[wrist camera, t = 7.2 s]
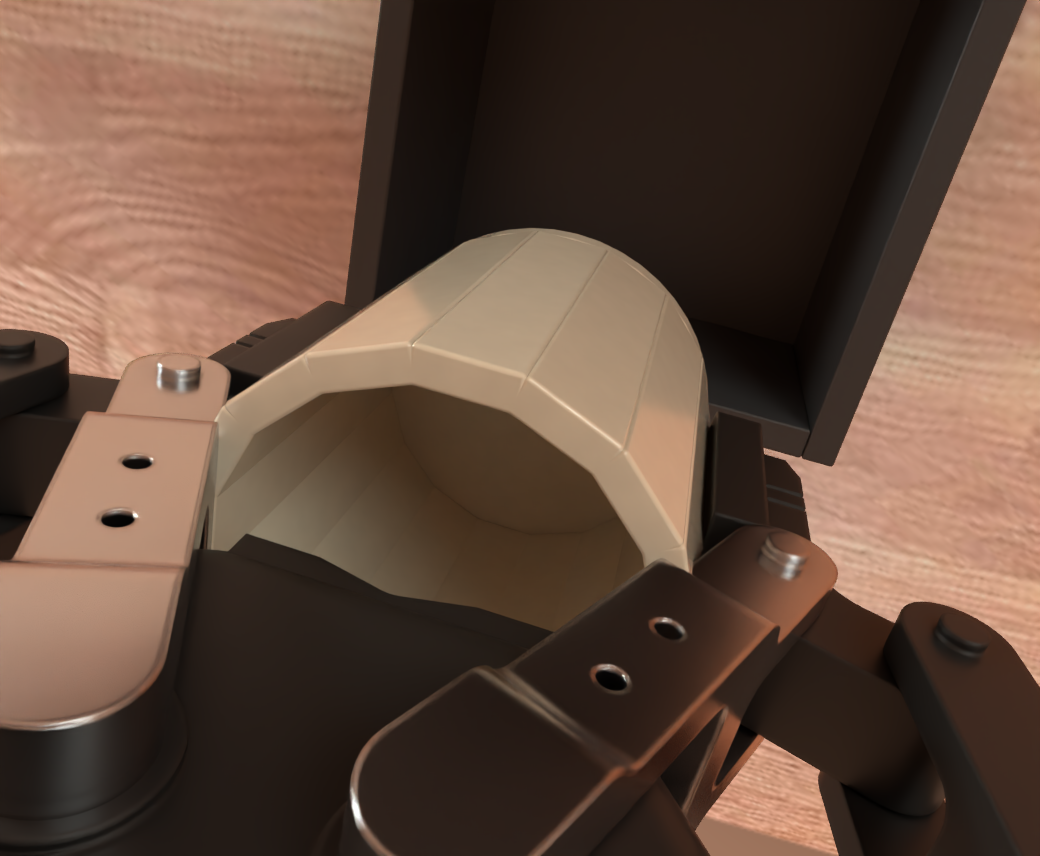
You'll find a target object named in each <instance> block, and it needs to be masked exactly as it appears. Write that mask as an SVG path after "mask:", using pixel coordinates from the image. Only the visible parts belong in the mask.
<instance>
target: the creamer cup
mask: <svg viewBox="0 0 1040 856" xmlns="http://www.w3.org/2000/svg"><path fill="white" fill-rule="evenodd" d="M214 422H218V423H219V446H218V462H217V478H216V489H215V500H214V513H213V529H212V545H211V550H221V551H229V550H230V549H231V548H232V547H233V546H234V545H235V544H236V543H237V542H238V541H239V540H240V539H241V538H242V537H243V536H244V535H245V534H246V533H247V534H250V535H253V536H256V537H259V538H262V539H265V540H269V541H272V542H275V543H278V544H281V545H284V546H287V547H290V548H294V549H297V550H300V551H303V552H306V553H309V554H312V555H315V556H319V557H321V558H323V559H325V560H327V561H328V562H330V563H332V564H334V565H336V566H338V567H340V568H341V569H343V570H345V571H347V572H349V573H351V574H353V575H354V576H356V577H358V578H360V579H362V580H364V581H366V582H367V583H369V584H371V585H373V586H375V587H377V588H379V589H380V590H382V591H384V592H387V593H389V594H392V595H397V596H403V597H410V598H417V599H424V600H430V601H437V602H444V603H451V604H458V605H464V606H471V607H478V608H481V609H484V610H487V611H490V612H493V613H496V614H500V615H503V616H506V617H509V618H512V619H515V620H518V621H521V622H525V623H528V624H531V625H534V626H537V627H540V628H543V629H546V630H550V631H553V632H555V631H556V630H557V629H559V628H560V627H562V626H563V625H564V624H566V623H567V622H569V621H570V620H572V619H573V618H574V617H576V616H577V615H579V614H580V613H581V612H583V611H584V610H586V609H587V608H588V607H590V606H591V605H593V604H594V603H596V602H597V601H598V600H600V599H601V598H603V597H604V596H605V595H607V594H608V593H610V592H611V591H612V590H614V589H615V588H617V587H618V586H620V585H621V584H622V583H624V582H625V581H627V580H628V579H629V578H631V577H632V576H634V575H635V574H636V573H638V572H639V571H641V570H642V569H644V568H645V567H646V566H648V565H649V564H651V563H652V562H653V561H655V560H657V559H659V558H665V559H666V560H668V561H670V562H672V563H673V564H675V565H677V566H678V567H680V568H682V569H684V570H685V571H687V572H689V573H690V574H692V568H693V562H695V561H696V560H697V559H698V558H700V557H701V556H702V551H703V532H704V515H705V498H706V481H707V464H708V447H709V430H710V416H709V406H708V380H707V374H706V368H705V363H704V358H703V355H702V352H701V349H700V346H699V343H698V340H697V337H696V335H695V333H694V331H693V329H692V327H691V325H690V323H689V320H688V318H687V317H686V315H685V314H684V312H683V311H682V309H681V308H680V306H679V305H678V303H677V302H676V300H675V299H674V297H673V296H672V295H671V294H670V293H669V292H668V291H667V289H666V288H665V287H664V286H663V285H662V284H661V283H660V281H659V280H657V279H656V278H655V277H654V276H653V275H652V274H651V273H649V272H648V271H647V270H646V269H645V268H644V267H643V266H641V265H640V264H639V263H637V262H636V261H634V260H633V259H631V258H630V257H628V256H627V255H625V254H624V253H622V252H620V251H618V250H616V249H614V248H612V247H610V246H608V245H606V244H604V243H602V242H600V241H597V240H594V239H591V238H588V237H585V236H582V235H579V234H575V233H570V232H565V231H560V230H555V229H540V228H524V229H511V230H505V231H500V232H496V233H491V234H487V235H484V236H481V237H478V238H476V239H472V240H469V241H467V242H463V243H462V244H460V245H458V246H457V247H455V248H454V249H452V250H450V251H449V252H447V253H445V254H444V255H442V256H441V257H440V258H438V259H436V260H435V261H433V262H432V263H430V264H429V265H427V266H425V267H424V268H422V269H421V270H419V271H418V272H416V273H414V274H413V275H411V276H410V277H409V278H407V279H406V280H404V281H403V282H401V283H400V284H398V285H397V286H395V287H394V288H392V289H391V290H389V291H388V292H387V293H385V294H384V295H382V296H381V297H379V298H378V299H376V300H375V301H373V302H372V303H370V304H369V305H367V306H366V307H365V308H363V309H362V310H360V311H359V312H357V313H356V314H354V315H353V316H351V317H350V318H348V319H347V320H345V321H344V322H343V323H341V324H340V325H338V326H337V327H335V328H334V329H332V330H331V331H329V332H328V333H326V334H325V335H323V336H322V337H321V338H319V339H318V340H316V341H315V342H313V343H312V344H310V345H309V346H307V347H306V348H304V349H303V350H301V351H300V352H299V353H297V354H296V355H294V356H293V357H291V358H290V359H288V360H287V361H285V362H284V363H282V364H281V365H279V366H278V367H277V368H275V369H274V370H272V371H271V372H269V373H268V374H266V375H265V376H263V377H262V378H260V379H259V380H257V381H256V382H255V383H253V384H252V385H250V386H249V387H247V388H246V389H244V390H243V391H241V392H240V393H238V394H237V395H235V396H234V397H233V398H231V399H230V400H228V401H227V402H226V404H225V405H224V406H222V407H221V409H220V411H219V412H218V414H217V416H216V418H215V419H214Z"/></svg>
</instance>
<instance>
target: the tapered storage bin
mask: <svg viewBox="0 0 1040 856" xmlns="http://www.w3.org/2000/svg"><path fill="white" fill-rule="evenodd" d="M1026 1H1027V0H381V5H380V14H379V22H378V30H377V39H376V47H375V55H374V64H373V72H372V80H371V89H370V97H369V105H368V114H367V122H366V130H365V139H364V147H363V155H362V164H361V172H360V180H359V189H358V197H357V205H356V214H355V222H354V230H353V239H352V247H351V255H350V264H349V272H348V280H347V289H346V297H345V305H347V306H350V307H354V308H357V309H361V310H362V309H363V308H365V307H366V306H367V305H369V304H370V303H372V302H373V301H375V300H376V299H378V298H379V297H381V296H382V295H384V294H385V293H387V292H388V291H389V290H391V289H392V288H394V287H395V286H397V285H398V284H400V283H401V282H403V281H404V280H406V279H407V278H409V277H410V276H411V275H413V274H414V273H416V272H418V271H419V270H421V269H422V268H424V267H425V266H427V265H429V264H430V263H432V262H433V261H435V260H436V259H438V258H440V257H441V256H442V255H444V254H445V253H447V252H449V251H450V250H452V249H454V248H455V247H457V246H458V245H460V244H462V243H463V242H467V241H469V240H472V239H476V238H478V237H481V236H484V235H487V234H491V233H496V232H500V231H505V230H511V229H524V228H540V229H555V230H560V231H565V232H570V233H575V234H579V235H582V236H585V237H588V238H591V239H594V240H597V241H600V242H602V243H604V244H606V245H608V246H610V247H612V248H614V249H616V250H618V251H620V252H622V253H624V254H625V255H627V256H628V257H630V258H631V259H633V260H634V261H636V262H637V263H639V264H640V265H641V266H643V267H644V268H645V269H646V270H647V271H648V272H649V273H651V274H652V275H653V276H654V277H655V278H656V279H657V280H659V281H660V283H661V284H662V285H663V286H664V287H665V288H666V289H667V291H668V292H669V293H670V294H671V295H672V296H673V297H674V299H675V300H676V302H677V303H678V305H679V306H680V308H681V309H682V311H683V312H684V314H685V315H686V317H687V318H688V320H689V323H690V325H691V327H692V329H693V331H694V333H695V335H696V337H697V340H698V343H699V346H700V349H701V352H702V355H703V358H704V363H705V368H706V374H707V380H708V406H709V416H710V425H711V423H712V420H713V418H714V416H715V414H716V412H717V411H719V412H722V413H726V414H729V415H733V416H736V417H740V418H743V419H747V420H750V421H754V422H757V423H761V426H762V438H763V447H764V448H767V449H771V450H774V451H778V452H781V453H785V454H788V455H792V456H795V457H800V456H802V458H803V459H806V460H809V461H813V462H816V463H820V464H823V465H827V466H833V465H834V462H835V460H836V457H837V455H838V453H839V450H840V448H841V445H842V443H843V441H844V438H845V436H846V433H847V431H848V429H849V426H850V424H851V421H852V419H853V417H854V414H855V412H856V409H857V407H858V404H859V402H860V400H861V397H862V395H863V392H864V390H865V388H866V385H867V383H868V380H869V378H870V376H871V373H872V371H873V368H874V366H875V364H876V361H877V359H878V356H879V354H880V352H881V349H882V347H883V344H884V342H885V340H886V337H887V335H888V332H889V330H890V328H891V325H892V323H893V320H894V318H895V316H896V313H897V311H898V308H899V306H900V304H901V301H902V299H903V296H904V294H905V292H906V289H907V287H908V284H909V282H910V280H911V277H912V275H913V272H914V270H915V268H916V265H917V263H918V260H919V258H920V256H921V253H922V251H923V248H924V246H925V244H926V241H927V239H928V236H929V234H930V232H931V229H932V227H933V224H934V222H935V220H936V217H937V215H938V212H939V210H940V208H941V205H942V203H943V200H944V198H945V196H946V193H947V191H948V188H949V186H950V183H951V181H952V179H953V176H954V174H955V171H956V169H957V167H958V164H959V162H960V159H961V157H962V155H963V152H964V150H965V147H966V145H967V143H968V140H969V138H970V135H971V133H972V131H973V128H974V126H975V123H976V121H977V119H978V116H979V114H980V111H981V109H982V107H983V104H984V102H985V99H986V97H987V95H988V92H989V90H990V87H991V85H992V83H993V80H994V78H995V75H996V73H997V71H998V68H999V66H1000V63H1001V61H1002V59H1003V56H1004V54H1005V51H1006V49H1007V47H1008V44H1009V42H1010V39H1011V37H1012V35H1013V32H1014V30H1015V27H1016V25H1017V23H1018V20H1019V18H1020V15H1021V13H1022V11H1023V8H1024V6H1025V3H1026Z"/></svg>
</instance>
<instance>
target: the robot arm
mask: <svg viewBox="0 0 1040 856" xmlns="http://www.w3.org/2000/svg"><path fill="white" fill-rule="evenodd" d="M360 310H361V309H357V308H354V307H350V306H347V305H343V304H339V303H336V302H332V301H327V302H325V303H323V304H321V305H320V306H318V307H317V308H315V309H313V310H312V311H310V312H308V313H307V314H305V315H303V316H302V317H300V318H298V319H294V318H291V319H286V320H281V321H276V322H271V323H267V324H265V325H263V326H261V327H260V328H258V329H256V330H254V331H253V332H251V333H250V335H246V336H244V337H242V338H241V339H239V340H237V341H236V344H235V343H232V344H230V345H228V346H227V347H225V348H223V349H221V350H220V351H218V352H216V353H214V354H213V355H211V356H209V357H208V358H205V357H201V356H197V355H191V354H182V353H161V354H153V355H148V356H143V357H141V358H138V359H136V360H134V361H132V362H130V363H129V364H128V365H127V367H126V368H125V370H124V372H123V375H122V377H121V379H120V380H116V379H108V378H100V377H93V376H85V375H78V374H70V373H69V349H68V346H67V345H66V344H65V343H64V342H63V341H61V340H60V339H58V338H56V337H53V336H50V335H47V334H44V333H40V332H34V331H27V330H16V329H3V330H0V856H710V854H709V853H708V851H707V850H706V848H705V847H704V845H703V843H702V842H701V840H700V839H699V837H698V835H697V834H696V832H695V830H696V828H697V827H698V825H699V823H700V822H701V820H702V819H703V817H704V816H705V815H706V813H707V812H708V811H709V809H710V808H711V807H712V805H713V804H714V803H715V802H716V800H717V799H718V798H719V796H720V795H721V794H722V793H723V791H724V790H725V789H726V787H727V786H728V785H729V784H730V782H731V781H732V780H733V778H734V777H735V776H736V775H737V773H738V772H739V771H740V769H741V768H742V767H743V766H744V764H745V763H746V762H747V760H748V759H749V758H750V757H751V755H752V754H753V753H754V751H755V750H756V749H757V748H758V746H759V745H760V744H761V742H762V741H763V739H764V738H765V739H767V740H769V741H771V742H772V743H774V744H776V745H777V746H779V747H781V748H783V749H784V750H786V751H788V752H789V753H791V754H793V755H795V756H796V757H798V758H800V759H802V760H803V761H805V762H807V763H808V764H810V765H812V766H814V767H815V768H817V769H819V770H820V773H819V776H818V784H819V789H820V793H821V796H822V799H823V803H824V806H825V810H826V813H827V817H828V820H829V823H830V827H831V830H832V834H833V837H834V840H835V844H836V847H837V851H838V854H839V856H1040V687H1039V686H1038V684H1037V683H1036V681H1035V680H1034V678H1033V677H1032V675H1031V674H1030V672H1029V671H1028V669H1027V668H1026V666H1025V665H1024V663H1023V662H1022V660H1021V659H1020V657H1019V656H1018V654H1017V653H1016V651H1015V650H1014V649H1013V647H1012V646H1011V645H1010V644H1009V643H1008V642H1007V641H1006V640H1005V639H1004V638H1003V637H1002V636H1001V635H999V634H998V633H997V632H996V631H995V630H993V629H992V628H990V627H989V626H988V625H986V624H984V623H983V622H981V621H979V620H978V619H976V618H974V617H972V616H970V615H968V614H966V613H964V612H962V611H959V610H957V609H954V608H951V607H948V606H945V605H941V604H937V603H931V602H914V603H910V604H908V605H906V606H905V607H904V608H903V609H902V610H901V612H900V614H899V616H898V618H897V620H896V622H895V623H893V622H891V621H889V620H887V619H885V618H883V617H880V616H878V615H876V614H874V613H872V612H870V611H868V610H866V609H864V608H862V607H860V606H859V605H857V604H855V603H853V602H852V601H850V600H848V599H847V598H845V597H844V596H843V595H841V594H840V593H838V592H837V591H836V590H835V589H834V588H833V586H834V584H835V582H836V580H837V577H838V571H837V568H836V565H835V563H834V562H833V561H832V559H831V558H830V557H829V556H828V555H827V554H826V553H825V552H824V551H823V550H822V549H821V548H819V547H818V546H817V545H815V544H814V543H812V542H811V539H810V533H809V527H808V521H807V515H806V512H805V503H804V498H802V497H803V491H802V484H801V479H800V477H799V476H798V475H797V474H796V473H795V471H794V470H793V469H792V468H791V467H790V465H789V464H788V463H787V462H786V461H785V460H782V459H778V458H775V457H771V456H768V455H765V454H764V450H763V438H762V426H761V423H757V422H754V421H750V420H747V419H743V418H740V417H736V416H733V415H729V414H726V413H722V412H719V411H717V412H716V414H715V416H714V418H713V420H712V423H711V425H710V430H709V447H708V464H707V481H706V498H705V515H704V532H703V551H702V556H701V557H700V558H698V559H697V560H696V561H695V562H693V568H692V574H690V573H689V572H687V571H685V570H684V569H682V568H680V567H678V566H677V565H675V564H673V563H672V562H670V561H668V560H666V559H665V558H659V559H657V560H655V561H653V562H652V563H651V564H649V565H648V566H646V567H645V568H644V569H642V570H641V571H639V572H638V573H636V574H635V575H634V576H632V577H631V578H629V579H628V580H627V581H625V582H624V583H622V584H621V585H620V586H618V587H617V588H615V589H614V590H612V591H611V592H610V593H608V594H607V595H605V596H604V597H603V598H601V599H600V600H598V601H597V602H596V603H594V604H593V605H591V606H590V607H588V608H587V609H586V610H584V611H583V612H581V613H580V614H579V615H577V616H576V617H574V618H573V619H572V620H570V621H569V622H567V623H566V624H564V625H563V626H562V627H560V628H559V629H557V630H556V631H555V632H553V631H550V630H546V629H543V628H540V627H537V626H534V625H531V624H528V623H525V622H521V621H518V620H515V619H512V618H509V617H506V616H503V615H500V614H496V613H493V612H490V611H487V610H484V609H481V608H478V607H471V606H464V605H458V604H451V603H444V602H437V601H430V600H424V599H417V598H410V597H403V596H397V595H392V594H389V593H387V592H384V591H382V590H380V589H379V588H377V587H375V586H373V585H371V584H369V583H367V582H366V581H364V580H362V579H360V578H358V577H356V576H354V575H353V574H351V573H349V572H347V571H345V570H343V569H341V568H340V567H338V566H336V565H334V564H332V563H330V562H328V561H327V560H325V559H323V558H321V557H319V556H315V555H312V554H309V553H306V552H303V551H300V550H297V549H294V548H290V547H287V546H284V545H281V544H278V543H275V542H272V541H269V540H265V539H262V538H259V537H256V536H253V535H250V534H247V533H246V534H245V535H244V536H243V537H242V538H241V539H240V540H239V541H238V542H237V543H236V544H235V545H234V546H233V547H232V548H231V549H230V550H229V551H221V550H211V545H212V529H213V513H214V500H215V489H216V478H217V462H218V446H219V423H218V422H214V419H215V418H216V416H217V414H218V412H219V411H220V409H221V407H222V406H224V405H225V404H226V402H227V401H228V400H230V399H231V398H233V397H234V396H235V395H237V394H238V393H240V392H241V391H243V390H244V389H246V388H247V387H249V386H250V385H252V384H253V383H255V382H256V381H257V380H259V379H260V378H262V377H263V376H265V375H266V374H268V373H269V372H271V371H272V370H274V369H275V368H277V367H278V366H279V365H281V364H282V363H284V362H285V361H287V360H288V359H290V358H291V357H293V356H294V355H296V354H297V353H299V352H300V351H301V350H303V349H304V348H306V347H307V346H309V345H310V344H312V343H313V342H315V341H316V340H318V339H319V338H321V337H322V336H323V335H325V334H326V333H328V332H329V331H331V330H332V329H334V328H335V327H337V326H338V325H340V324H341V323H343V322H344V321H345V320H347V319H348V318H350V317H351V316H353V315H354V314H356V313H357V312H359V311H360ZM944 799H945V801H946V803H945V801H944Z"/></svg>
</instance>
